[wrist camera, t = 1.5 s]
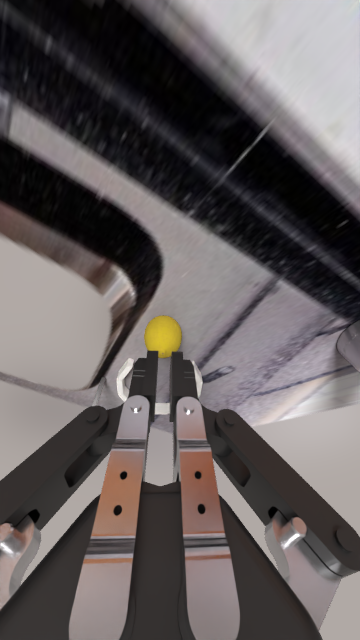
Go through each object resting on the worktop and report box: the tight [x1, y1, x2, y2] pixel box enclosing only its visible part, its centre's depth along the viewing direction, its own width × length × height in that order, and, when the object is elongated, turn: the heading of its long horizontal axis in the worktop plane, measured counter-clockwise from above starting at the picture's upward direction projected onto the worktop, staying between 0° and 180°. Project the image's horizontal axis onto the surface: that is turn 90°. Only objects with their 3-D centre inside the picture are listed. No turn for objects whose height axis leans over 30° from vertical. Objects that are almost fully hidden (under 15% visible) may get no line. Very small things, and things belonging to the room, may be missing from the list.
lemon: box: [144, 315, 182, 358], centre depth 32 cm, size 6×6×8 cm
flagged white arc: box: [92, 358, 203, 414], centre depth 36 cm, size 19×14×16 cm
